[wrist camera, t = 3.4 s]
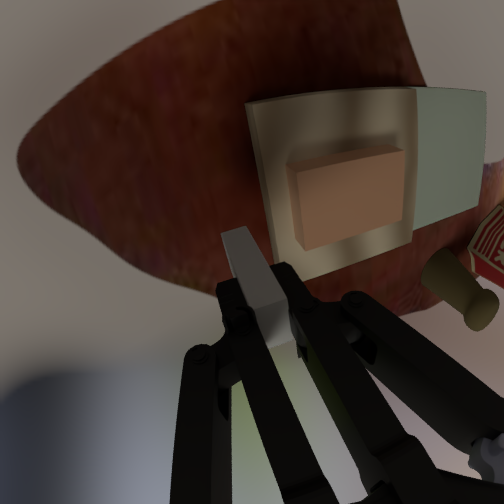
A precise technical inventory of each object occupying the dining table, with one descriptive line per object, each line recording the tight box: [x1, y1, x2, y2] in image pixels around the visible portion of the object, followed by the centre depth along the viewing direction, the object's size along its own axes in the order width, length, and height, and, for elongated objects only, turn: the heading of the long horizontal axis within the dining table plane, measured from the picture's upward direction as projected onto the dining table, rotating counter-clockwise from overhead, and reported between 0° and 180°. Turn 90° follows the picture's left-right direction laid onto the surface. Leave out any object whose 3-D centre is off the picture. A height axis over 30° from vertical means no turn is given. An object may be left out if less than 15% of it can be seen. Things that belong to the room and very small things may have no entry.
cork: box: [421, 248, 499, 331], centre depth 29 cm, size 6×6×11 cm
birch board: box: [244, 87, 418, 281], centre depth 23 cm, size 14×15×2 cm
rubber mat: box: [407, 87, 486, 230], centre depth 25 cm, size 14×15×1 cm
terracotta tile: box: [285, 144, 405, 252], centre depth 21 cm, size 9×6×2 cm, turn 101°
